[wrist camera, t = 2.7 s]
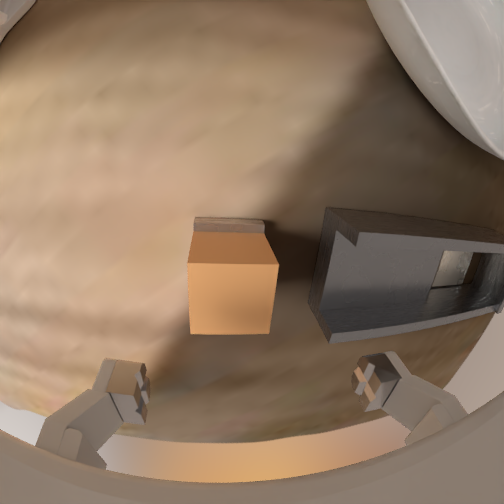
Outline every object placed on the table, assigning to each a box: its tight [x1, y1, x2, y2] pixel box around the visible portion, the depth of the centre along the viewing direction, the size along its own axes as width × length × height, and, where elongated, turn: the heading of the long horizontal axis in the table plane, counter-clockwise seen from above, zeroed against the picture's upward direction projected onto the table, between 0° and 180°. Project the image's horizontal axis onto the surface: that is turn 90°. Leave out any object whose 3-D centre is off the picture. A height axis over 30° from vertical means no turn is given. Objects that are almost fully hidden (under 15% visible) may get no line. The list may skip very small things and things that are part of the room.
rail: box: [308, 207, 504, 343], centre depth 17 cm, size 7×21×5 cm, turn 85°
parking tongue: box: [194, 218, 265, 233], centre depth 17 cm, size 5×4×1 cm
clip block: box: [187, 231, 279, 334], centre depth 14 cm, size 4×4×4 cm
